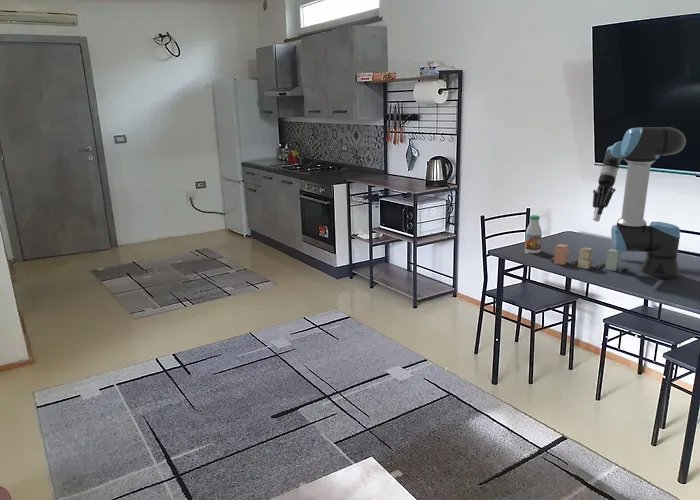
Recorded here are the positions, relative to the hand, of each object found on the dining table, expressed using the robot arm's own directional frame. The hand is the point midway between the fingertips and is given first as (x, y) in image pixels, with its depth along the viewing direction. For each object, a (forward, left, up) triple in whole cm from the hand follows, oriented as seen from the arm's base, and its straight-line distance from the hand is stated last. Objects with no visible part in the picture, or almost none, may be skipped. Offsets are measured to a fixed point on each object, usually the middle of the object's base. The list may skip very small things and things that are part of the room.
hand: (595, 220), depth 270 cm
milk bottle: (+13, +26, -18) cm, 34 cm away
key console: (-17, +16, -18) cm, 30 cm away
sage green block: (-26, +10, -16) cm, 33 cm away
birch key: (-19, +20, -16) cm, 32 cm away
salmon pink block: (-10, +26, -16) cm, 32 cm away
